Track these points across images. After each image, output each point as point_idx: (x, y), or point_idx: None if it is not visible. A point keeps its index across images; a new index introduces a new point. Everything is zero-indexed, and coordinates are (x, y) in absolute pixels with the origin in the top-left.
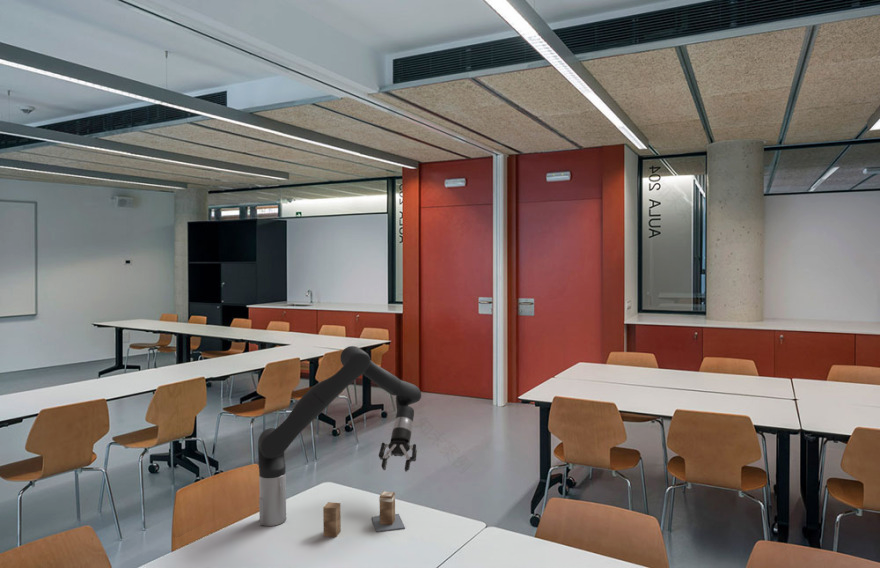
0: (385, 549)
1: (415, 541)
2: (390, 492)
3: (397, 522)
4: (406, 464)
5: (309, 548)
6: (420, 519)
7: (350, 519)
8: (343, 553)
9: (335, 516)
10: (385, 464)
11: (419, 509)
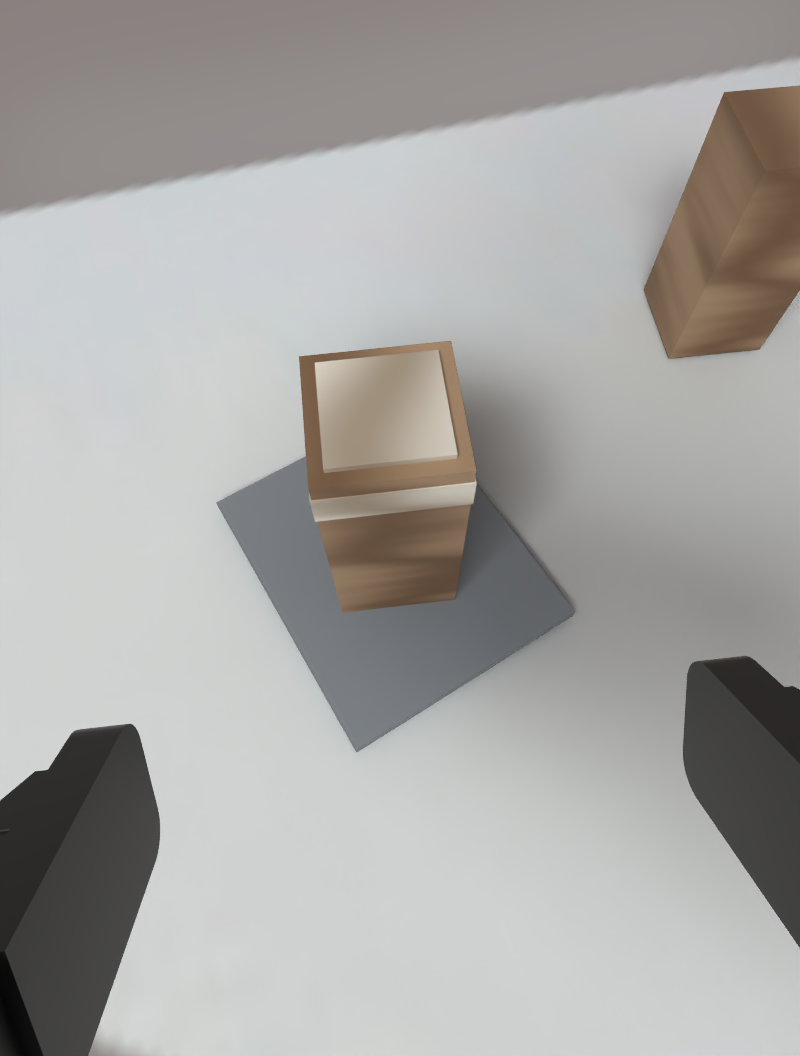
0: (272, 252)
1: (105, 372)
2: (357, 449)
3: (304, 567)
4: (39, 809)
5: None
6: None
7: (740, 557)
8: (489, 172)
9: (699, 161)
10: (755, 774)
11: (177, 992)
